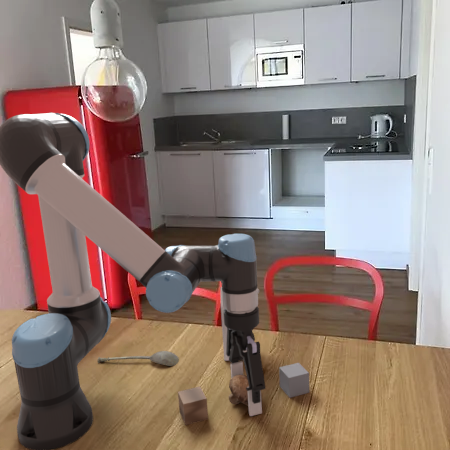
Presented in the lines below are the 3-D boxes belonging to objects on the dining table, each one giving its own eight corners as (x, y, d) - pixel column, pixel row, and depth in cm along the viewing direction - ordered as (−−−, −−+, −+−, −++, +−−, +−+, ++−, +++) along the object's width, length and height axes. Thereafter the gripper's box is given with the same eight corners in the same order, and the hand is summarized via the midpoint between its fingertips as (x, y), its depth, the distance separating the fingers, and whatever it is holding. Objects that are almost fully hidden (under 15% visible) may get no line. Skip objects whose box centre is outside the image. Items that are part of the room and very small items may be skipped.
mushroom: (214, 393, 106) (230, 371, 106) (230, 388, 113) (245, 367, 113) (240, 420, 103) (257, 397, 102) (255, 413, 110) (271, 391, 109)
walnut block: (185, 425, 101) (183, 404, 100) (179, 412, 106) (177, 391, 105) (208, 419, 103) (206, 398, 102) (201, 406, 108) (200, 386, 106)
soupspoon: (177, 371, 125) (182, 359, 131) (176, 359, 124) (181, 348, 130) (94, 368, 127) (103, 357, 133) (93, 356, 126) (102, 345, 133)
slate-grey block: (289, 398, 109) (288, 378, 108) (279, 386, 113) (279, 367, 112) (309, 392, 110) (309, 372, 109) (299, 381, 115) (298, 362, 114)
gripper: (279, 324, 94) (283, 425, 99) (238, 287, 114) (243, 372, 120) (243, 331, 91) (249, 435, 97) (208, 292, 112) (214, 379, 117)
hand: (246, 400), depth 108 cm, fingers open, 10 cm apart
